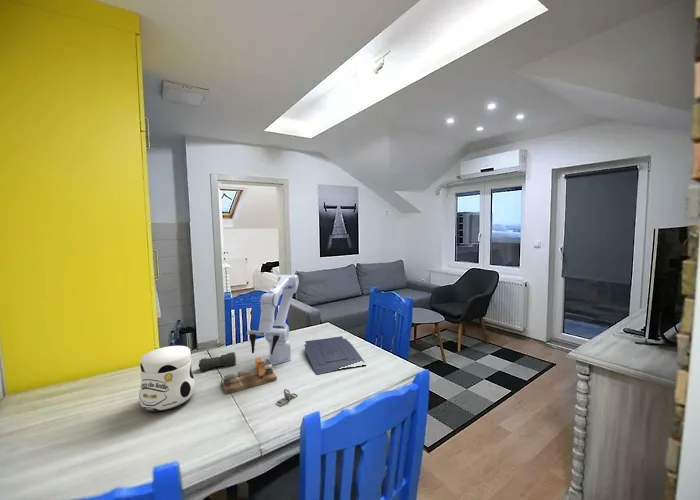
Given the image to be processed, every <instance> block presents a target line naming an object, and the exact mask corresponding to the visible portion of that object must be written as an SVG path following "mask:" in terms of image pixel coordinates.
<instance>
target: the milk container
mask: <svg viewBox="0 0 700 500" xmlns="http://www.w3.org/2000/svg"><path fill="white" fill-rule="evenodd" d="M139 363H140V364H139V365H140V380H141V382H140V388H139V391H138V400H139V404H140V406H141V408H142V409H144V410H145V411H148V412H156V413H157V412H164V411H169V410H172V409H175V408H177V407H179V406H181V405H183V404H185V403H186V402H188V401H189V400H190V399H191V397H192V396H193V395H194V392H195V387H196V381H195V377H194V374H193V371H192V353H191V349H190V348H189V347H188V346H185V345H171V346H164V347H159V348H156V349H152V350H151V351H149V352H146V353H145V354H143V355H142V356H141V358H140V362H139Z"/></svg>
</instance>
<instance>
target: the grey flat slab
mask: <svg viewBox="0 0 700 500" xmlns="http://www.w3.org/2000/svg"><path fill="white" fill-rule="evenodd" d="M304 342H305V344H304V345H303V346H304V350H305V353H306V355H307V357H308V360H309V362H310V364H311V366H312V367H311V368H312V369H313V371H314V372H315V374H316V375H321V374H325V373H326V374H327V373H331V372H334V371H333V370H336V371H338V370H337V369H339V368H341V367H345V366H348V365H351V364H354V363H357V362H360V361H364V359H363V357H362V356H361V355H360V353H359V352H358V351H357V350H356V348H355V347H354V345H353V344H352V343H351V341H348V339H347V338H344V337H343V336H341V335H340V336H334V337H328V338H320V339H312V340H305V341H304ZM364 362H365V361H364Z"/></svg>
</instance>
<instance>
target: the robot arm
mask: <svg viewBox="0 0 700 500" xmlns="http://www.w3.org/2000/svg"><path fill="white" fill-rule="evenodd" d="M299 283H300V282H299V276H298V275H297V274H279V275H278V277H277V283H276V284H274V285H272V286H271V287H270V289H269V290H267V293H263V294H262V295H261V297H260V300H259V301H260V317H259V325H258V330H251V329H248V330H247V331H246V335H247V336H248V337H249V341H250V345H251V354H254V353H255V345H256V339H257V336H259V337H260V336H261V337H262V336H263V337H265V340H266V341H267V343H268V344H269V357H266V359H267V361H268V362H269V363H270V364H272V366H273V365H277V364H281V363H284V362H285V363H286V362H289V361H291V360H292V359H291V342H290V340H289V334H290V333H289V332H290V327H289V325H288V324H287V323H286V320H287V318H288V314H289V310H290V306H291V302H292V298H293V296H294V294H295V293H297V290H298V287H299ZM281 296H282V297H281ZM280 298H281V299H280ZM280 300H281V301H280ZM279 301H280V303H279ZM278 304H279V307H278V311H277V314H276V317H275V312H276V307H277V306H278ZM274 318H275V320H274Z"/></svg>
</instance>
